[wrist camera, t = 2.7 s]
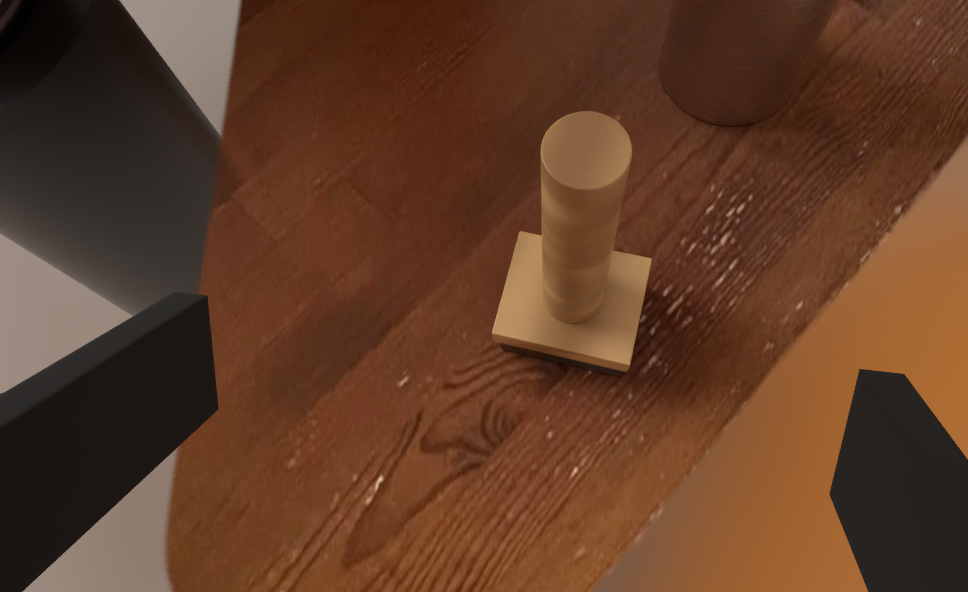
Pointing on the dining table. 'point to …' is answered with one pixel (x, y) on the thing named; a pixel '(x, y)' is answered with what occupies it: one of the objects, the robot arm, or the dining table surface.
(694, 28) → the bottle
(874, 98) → the dining table surface
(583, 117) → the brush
